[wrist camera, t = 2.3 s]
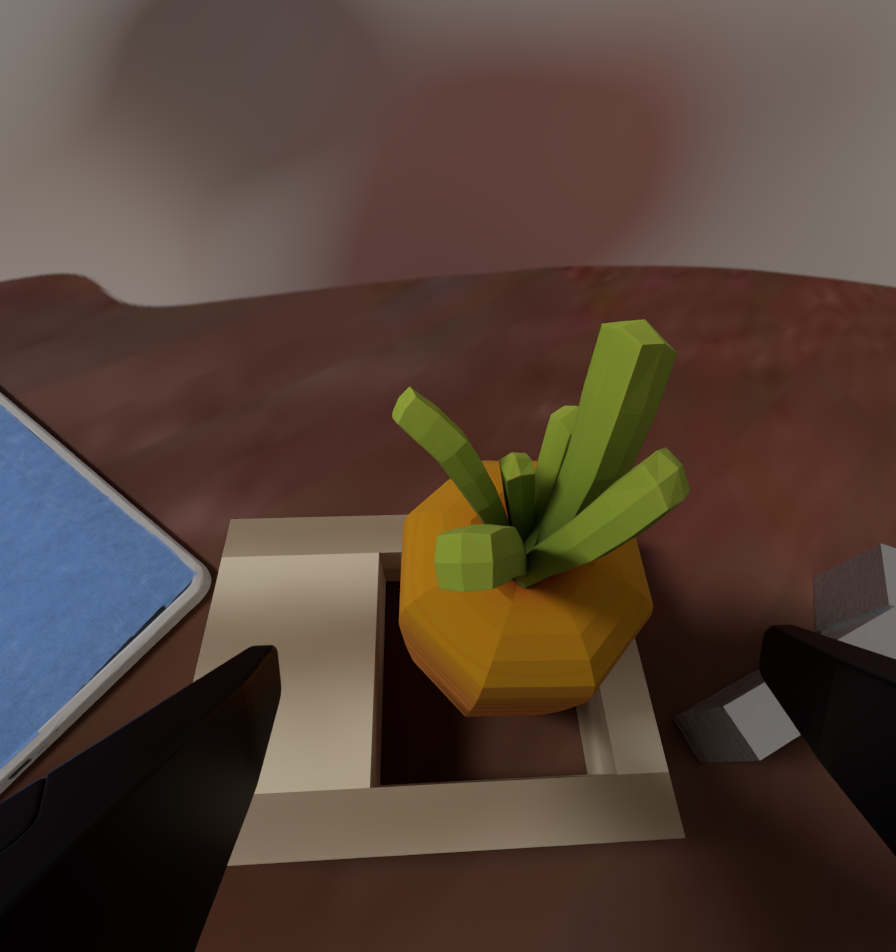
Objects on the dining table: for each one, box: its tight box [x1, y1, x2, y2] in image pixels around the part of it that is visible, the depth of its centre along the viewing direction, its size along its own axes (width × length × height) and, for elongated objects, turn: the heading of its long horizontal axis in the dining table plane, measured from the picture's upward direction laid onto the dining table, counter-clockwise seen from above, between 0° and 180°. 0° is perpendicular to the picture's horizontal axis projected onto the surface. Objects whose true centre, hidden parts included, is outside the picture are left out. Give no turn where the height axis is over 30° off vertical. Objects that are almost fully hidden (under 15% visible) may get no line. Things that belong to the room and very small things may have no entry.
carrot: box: [392, 320, 690, 717], centre depth 11 cm, size 5×5×15 cm
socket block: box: [193, 515, 685, 866], centre depth 16 cm, size 10×14×3 cm
